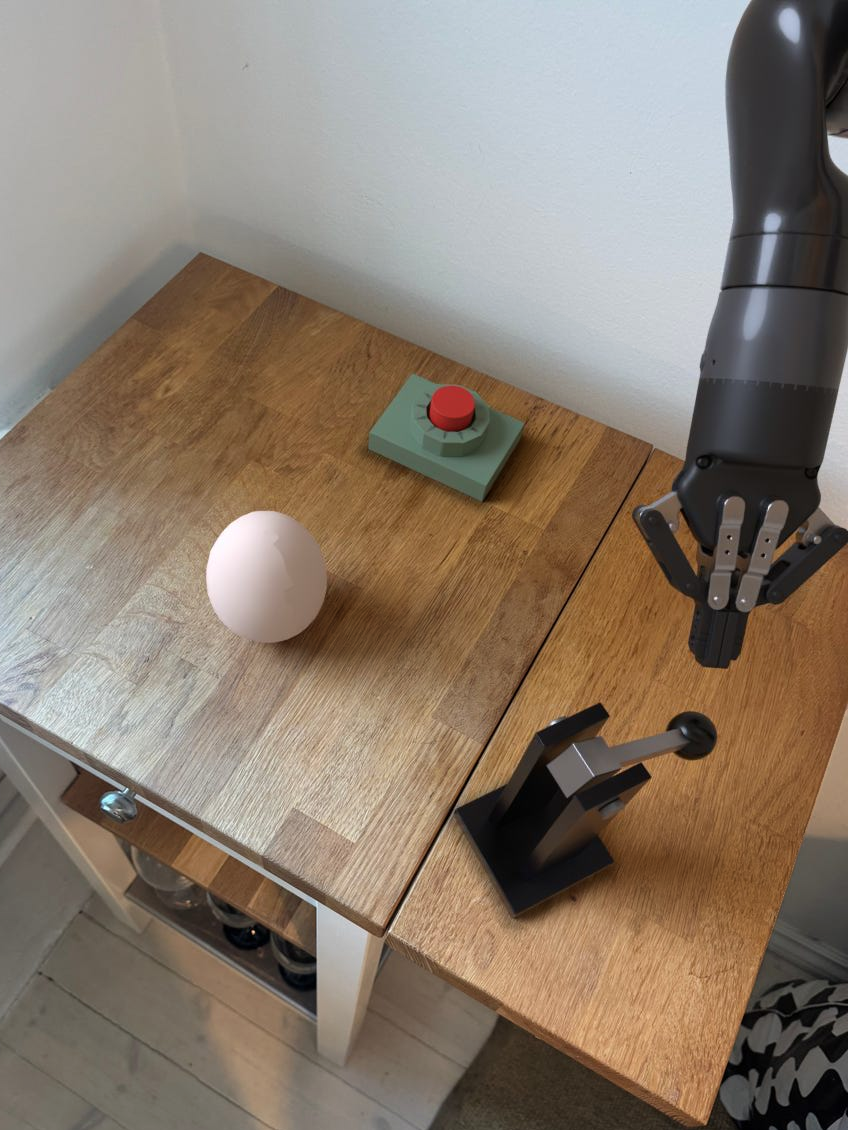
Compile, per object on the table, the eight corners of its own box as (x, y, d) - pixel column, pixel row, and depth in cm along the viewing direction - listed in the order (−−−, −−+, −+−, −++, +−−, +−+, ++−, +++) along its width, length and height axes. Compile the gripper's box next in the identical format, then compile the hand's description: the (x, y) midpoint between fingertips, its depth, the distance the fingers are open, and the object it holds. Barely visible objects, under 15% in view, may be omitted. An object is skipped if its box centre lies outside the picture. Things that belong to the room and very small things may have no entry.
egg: (304, 558, 74) (305, 465, 64) (341, 647, 71) (347, 564, 61) (199, 586, 72) (182, 496, 62) (231, 680, 69) (218, 600, 59)
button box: (410, 390, 84) (414, 357, 80) (520, 440, 82) (529, 408, 78) (368, 449, 80) (370, 417, 77) (482, 502, 78) (490, 471, 75)
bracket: (548, 767, 67) (611, 667, 53) (610, 866, 64) (695, 787, 50) (452, 814, 65) (493, 723, 51) (511, 919, 61) (572, 851, 48)
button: (440, 393, 79) (443, 379, 77) (478, 410, 78) (482, 395, 77) (421, 421, 77) (424, 406, 76) (460, 438, 77) (463, 424, 75)
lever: (671, 725, 63) (706, 698, 61) (700, 765, 61) (736, 739, 59) (536, 761, 53) (572, 731, 51) (566, 810, 51) (605, 780, 49)
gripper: (675, 367, 49) (622, 674, 54) (918, 390, 50) (844, 693, 54) (636, 368, 57) (592, 639, 61) (849, 388, 57) (789, 656, 62)
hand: (711, 664), depth 58 cm, fingers closed
